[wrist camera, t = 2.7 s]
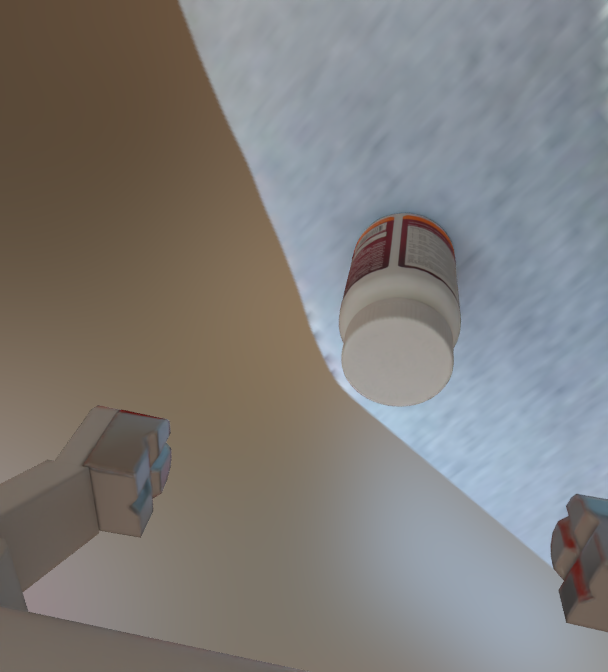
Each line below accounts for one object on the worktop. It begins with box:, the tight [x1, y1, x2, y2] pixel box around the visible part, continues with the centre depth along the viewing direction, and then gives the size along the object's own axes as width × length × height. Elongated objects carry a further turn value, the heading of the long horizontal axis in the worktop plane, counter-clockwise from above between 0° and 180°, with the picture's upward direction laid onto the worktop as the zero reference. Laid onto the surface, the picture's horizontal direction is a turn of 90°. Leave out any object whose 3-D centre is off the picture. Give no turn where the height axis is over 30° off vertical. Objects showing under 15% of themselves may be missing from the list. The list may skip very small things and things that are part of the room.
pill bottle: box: [339, 213, 461, 406], centre depth 31 cm, size 6×6×11 cm
